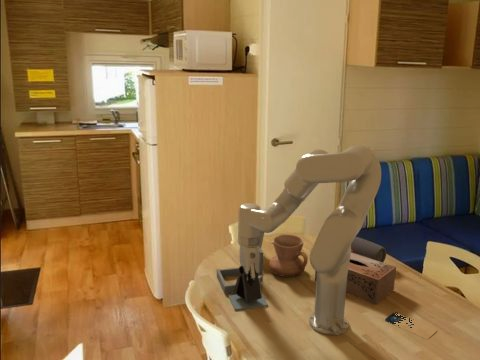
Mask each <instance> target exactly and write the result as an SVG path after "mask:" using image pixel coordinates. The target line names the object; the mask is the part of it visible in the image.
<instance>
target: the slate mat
mask: <svg viewBox="0 0 480 360" xmlns="http://www.w3.org/2000/svg"><path fill="white" fill-rule="evenodd" d="M227 295H228V298H229V300H230V304H231V306H232V307H233V309H234V312H235V311H243V310H251V309H257V308H266V307H269V304H268V302H267V301H266V299H265V298H264V296H263V294H262V293H261V296H262V298H261V299H258V300H255V301H252V302H249V303H247V302H246V301H244V300H243V299H242V298H241V297H239V296H238V295H236V294H235V293H230V294H227Z"/></svg>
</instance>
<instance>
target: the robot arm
mask: <svg viewBox="0 0 480 360" xmlns="http://www.w3.org/2000/svg"><path fill="white" fill-rule="evenodd" d="M381 167H382V166H381V163H380V161H379V159H378V157H377V154H375V153H374V151H373V150H372V149H370V148H369V147H367V145H362V144H361V145H360V144H357V145H352V146H350V147H348V148H346V149H345V150H343V151H341V152H332V153H330V152H329V153H328V151H326V150H323V149H317V148H316V149H313V150H311V151H309V152H307V153H305V154H303V155H302V156H301V157H300V158H299V159H298V160H297V162H296V166H295V169H294V170H293V171H292V173H290V175H288V177H287V178H286V179H285V180H284V183H283V184H284V189H283V190H282V191H281V192H280V194H279V195H278V197H276V199H275V200H274V201H273V202H272V203H271V204H270V205H268V206H267V207H265V208H262V209H261V207H260V205H258V204H257V203H253V202H246V203H242V204H241V205H239V208H238V223H237V224H238V227H237V228H238V230H237V231H238V232H237V233H238V234H237V236H238V237H237V243H238V245H239V264H240V266H243V267H244V271H245V273H246V279H247V281H248V284H249V285H250V286H252V282H253V283H254V278H255V271H256V273H259V248H258V245H259V244H260V231H261V232H264V234H268V233H269V234H271V233H272V232H274V231H275V230H277V228H279V227H280V226H282V225H283V224H284V223H286V221H287V220H288V219H289V218H290V217H291V216H292V215H293V214H294V213H295V211H296V210H297V209H298V208H299V206H300V205H301V204H302V203H304V201H305V200H306V199H307V198H308V197H309V195H310V194H311V193H312V192H313V191H314V190H315V189H316V187H317V186H318V185H319V184H329V183H332V184H333V183H346V182H348V186H347V187H346V189H345V191H344V194H343V196H342V198H341V200H340V201H339V204H338V205H337V207H336V208H335V209H334V210H333V211H332V212H331V213H330V214H329V215H328V217H327V218H326V219H325V220H324V222H323V224H322V226H321V228H320V231H319V233H318V235H317V237H316V239H315V241H314V243H313V246H312V248H311V250H310V252H309V262H310V266H311V267H312V268H313V270H314V271H317V280H316V281H315V284H316V285H315V299H314V312H313V313H312V314H310V316H309V318H308V319H309V320H308V322H309V325H310V327H311V328H312V329H313V330H315V331H316V332H319V333H321V334H324V335H336V336H340V335H341V334H342V333H345V332H346V331H347V330H348V328H349V321H348V318H347V317H345V311H346V310H345V307H346V297H347V296H346V295H347V293H346V286H347V276H348V267H349V261H350V256H351V244H352V242H353V240H354V238H355V237H357V235H358V234H359V233H360V231H361V229H362V227H363V224H364V221H365V219H366V218H367V215H368V213H369V211H370V208H371V206H372V205H373V202H374V200H375V198H376V196H377V194H378V191H379V189H380V186H381V182H382V181H381V180H382V168H381ZM254 270H255V271H254ZM248 274H250V275H249V276H248Z"/></svg>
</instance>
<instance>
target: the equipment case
mask: <svg viewBox="0 0 480 360" xmlns="http://www.w3.org/2000/svg"><path fill="white" fill-rule="evenodd" d="M258 248H259V273H258V278H259V284H260V290H261V291H262V283H263V282H264V255H265V253H264V250H262V248H261V249H260V247H259V246H258ZM239 267H240V266H239ZM239 267H231V268H230V267H229V268H223V269H222V268H221V269H219V268H218V269H216V279H217V280H218V282H219V285H220V287H221V290H222V291H223V294H224V295H226V294H227V295H229V294H235V293H234V292H233V291H234V288H235V285H236V283H233V284H232V283H231V284H227V283H226V281H225V279H224V278H228V277H235V276H236V277H238V275H239Z"/></svg>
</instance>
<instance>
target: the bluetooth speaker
mask: <svg viewBox="0 0 480 360" xmlns="http://www.w3.org/2000/svg"><path fill="white" fill-rule="evenodd" d="M351 252H352V253H355V254H358V255H361V256H364V257H367V258H370V259H374V260H377V261H380V262H383V263H385V260H386V257H387V251H386V248H385V247H384V246H382V245H379V244H377V243H375V242H372V241H371V240H370V241H369V240H367V239H364V238H361V237H359V236H356V237H355V238H354V240H353V242H352V244H351Z"/></svg>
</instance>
